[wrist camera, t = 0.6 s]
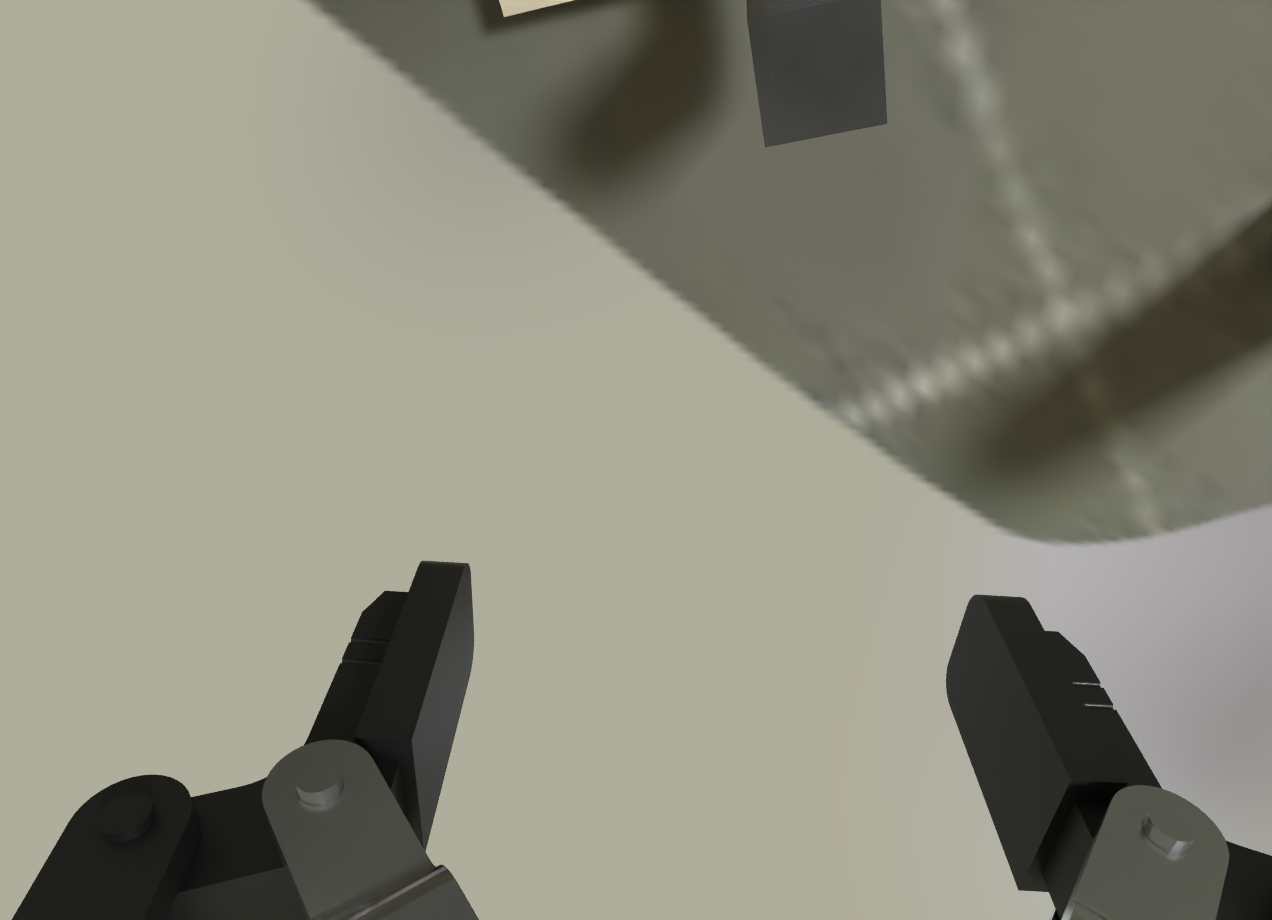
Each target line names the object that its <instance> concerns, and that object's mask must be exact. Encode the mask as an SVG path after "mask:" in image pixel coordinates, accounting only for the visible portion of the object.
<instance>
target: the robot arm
mask: <svg viewBox="0 0 1272 920" xmlns="http://www.w3.org/2000/svg"><path fill="white" fill-rule="evenodd" d="M473 648H474V626H473V607H472V589H471V572H470V566H469V564H468V563H454V562H437V561H421V563H420V564H419V566H418V569H417V572H416V574H415V577H414V579H413V582H412V585H411V587H410V590H409V592H395V591H384V592H383V593H382V594H381V595H380V596H379V597H378V598H377V599H376V600H375V601H374V602H373V603H372V604H371V605H370V606H368V607H367V608H366V609H365V610H364V611H363V612H362V614H361V616H360V619H359V621H358V623H357V626H356V628H355V630H354V632H353V635H352V637H351V643H349V644H348V646H347V648H346V651H345V653H344V655H343V658H342V664H341V663H340V665H339V667H338V669H337V672H336V674H335V676H334V679H333V681H332V683H331V686H330V688H329V690H328V692H327V695H326V697H325V699H324V702H323V704H322V706H321V709H320V711H319V713H318V716H317V718H316V720H315V722H314V725H313V727H312V730H311V732H310V734H309V736H308V739H307V740H306V742H305V744H304V746H302V747H300V748H298V749H296V750H294V751H292V752H291V753H289V754H288V755H286V756H285V757H284V758H282V759H281V760H280V761H279V762H278V763H277V764H276V765H275V766H274V767H273V769H272V770H271V771H270V773H269V775H268V776H267V777H266V778H264V779H262V780H260V781H257V782H254V783H252V784H248V785H245V786H241V787H237V788H232V789H228V790H223V791H218V792H214V793H209V794H204V795H200V796H195V797H190V794H189V791H188V790H187V789H186V787H185V786H184V785H183V784H182V783H180V782H179V781H177V780H175V779H173V778H171V777H167V776H162V775H142V776H137V777H132V778H129V779H125V780H122V781H120V782H117V783H115V784H113V785H111V786H109V787H107V788H105V789H103V790H102V791H100V792H98V793H97V794H96V795H94V796H93V797H91V798H90V799H89V800H88V801H87V802H86V803H84V804H83V805H82V806H81V807H80V808H79V810H78V811H77V812H76V813H75V814H74V815H73V817H72V818H71V820H70V821H69V823H68V825H67V826H66V828H65V830H64V832H63V833H62V835H61V837H60V838H59V840H58V842H57V843H56V845H55V847H54V848H53V850H52V852H51V854H50V855H49V857H48V859H47V860H46V862H45V864H44V866H43V867H42V869H41V871H40V872H39V874H38V876H37V878H36V879H35V881H34V883H33V884H32V886H31V888H30V890H29V891H28V893H27V895H26V897H25V898H24V900H23V901H22V903H21V905H20V907H19V908H18V910H17V912H16V913H15V915H14V917H13V919H12V920H479V919H478V918H477V916H476V914H475V912H474V910H473V909H472V907H471V905H470V904H469V902H468V900H467V898H466V897H465V895H464V893H463V892H462V890H461V888H460V886H459V885H458V883H457V882H456V880H455V878H454V877H453V875H452V874H451V873H450V871H449V870H448V869H447V868H446V867H445V866H444V865H439V866H437V867H435V866H434V865H433V864H432V862H431V861H430V859H429V858H428V856H427V854H426V852H425V851H426V847H427V843H428V839H429V835H430V831H431V827H432V823H433V819H434V815H435V812H436V807H437V804H438V800H439V796H440V792H441V788H442V784H443V780H444V776H445V772H446V768H447V764H448V760H449V756H450V752H451V748H452V744H453V740H454V736H455V732H456V728H457V724H458V721H459V717H460V713H461V709H462V704H463V701H464V696H465V693H466V689H467V685H468V681H469V677H470V672H471V667H472V660H473V650H474V649H473ZM946 688H947V696H948V701H949V704H950V707H951V710H952V713H953V715H954V718H955V720H956V723H957V726H958V729H959V731H960V734H961V736H962V739H963V742H964V744H965V747H966V750H967V753H968V756H969V758H970V761H971V764H972V766H973V769H974V772H975V774H976V777H977V780H978V782H979V785H980V787H981V790H982V793H983V796H984V799H985V801H986V804H987V807H988V809H989V812H990V815H991V817H992V820H993V823H994V825H995V828H996V830H997V833H998V836H999V839H1000V842H1001V844H1002V847H1003V850H1004V852H1005V855H1006V858H1007V860H1008V863H1009V865H1010V868H1011V871H1012V874H1013V876H1014V879H1015V882H1016V885H1017V887H1018V890H1024V891H1042V892H1049V893H1050V896H1051V898H1052V901H1053V903H1054V906H1055V910H1054V911H1053V913H1052V915H1051V917H1050V920H1272V856H1270V855H1267V854H1264V853H1261V852H1258V851H1254V850H1251V849H1248V848H1245V847H1242V846H1239V845H1236V844H1233V843H1231V842H1228V841H1225V839H1224V837H1223V835H1222V833H1221V832H1220V830H1219V829H1218V828H1217V826H1216V825H1215V823H1214V822H1213V821H1212V820H1211V819H1210V818H1209V817H1207V815H1206V814H1205V813H1204V812H1202V811H1201V810H1200V809H1199V808H1198V807H1196V806H1195V805H1193V804H1192V803H1190V802H1189V801H1187V800H1186V799H1184V798H1182V797H1180V796H1178V795H1176V794H1174V793H1172V792H1170V791H1166V790H1164V789H1162V788H1161V786H1160V784H1159V782H1158V781H1157V779H1156V777H1155V776H1154V774H1153V772H1152V770H1151V769H1150V767H1149V765H1148V764H1147V762H1146V760H1145V759H1144V757H1143V755H1142V753H1141V752H1140V750H1139V748H1138V746H1137V745H1136V743H1135V741H1134V740H1133V738H1132V736H1131V734H1130V733H1129V731H1128V730H1127V728H1126V726H1125V724H1124V722H1123V721H1122V719H1121V717H1120V716H1119V714H1118V712H1117V710H1113V703H1112V702H1111V700H1110V698H1109V697H1108V695H1107V693H1106V691H1105V690H1104V688H1101V687H1100V681H1099V679H1098V678H1097V676H1096V674H1095V672H1094V671H1093V669H1092V667H1091V666H1090V664H1089V662H1088V661H1087V659H1086V657H1085V656H1084V655H1083V654H1082V653H1081V652H1080V651H1079V650H1078V649H1077V648H1076V647H1074V646H1073V645H1072V644H1071V643H1070V642H1069V641H1068V640H1066V639H1065V638H1064V637H1063V636H1062V635H1061V634H1060V633H1059V632H1054V631H1044V629H1043V627H1042V625H1041V623H1040V621H1039V620H1038V618H1037V616H1036V614H1035V613H1034V611H1033V609H1032V607H1031V605H1030V603H1029V602H1028V601H1027V600H1026V599H1025V598H1022V597H1008V596H991V595H990V596H989V595H974V596H973V597H972V598H971V599H970V601H969V603H968V606H967V609H966V611H965V614H964V617H963V621H962V623H961V626H960V630H959V633H958V636H957V639H956V642H955V645H954V648H953V651H952V654H951V657H950V660H949V663H948V667H947V674H946Z"/></svg>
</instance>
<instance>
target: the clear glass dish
mask: <svg viewBox="0 0 1272 920" xmlns="http://www.w3.org/2000/svg"><path fill="white" fill-rule="evenodd" d="M747 21H748V28H749V35H750V43H751V50H752V57H753V64H754V71H755V78H756V86H757V93H758V100H759V107H760V114H761V122H762V129H763V136H764V143H765V147H769V146H774V145H779V144H785V143H790V142H795V141H800V140H805V139H810V138H815V137H821V136H826V135H831V134H836V133H841V132H846V131H851V130H856V129H862V128H867V127H872V126H877V125H882V124H887V112H886V93H885V74H884V55H883V36H882V18H881V0H747Z"/></svg>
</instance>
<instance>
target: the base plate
mask: <svg viewBox="0 0 1272 920" xmlns="http://www.w3.org/2000/svg"><path fill="white" fill-rule="evenodd" d="M569 1H573V0H499V2H500V5H501V8H502V12H503V15H504V17H506V16H511V15H515V14H519V13H523V12H527V11H531V10H535V9H540V8H544V7H548V6H552V5H556V4H560V3H564V2H569Z"/></svg>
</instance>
